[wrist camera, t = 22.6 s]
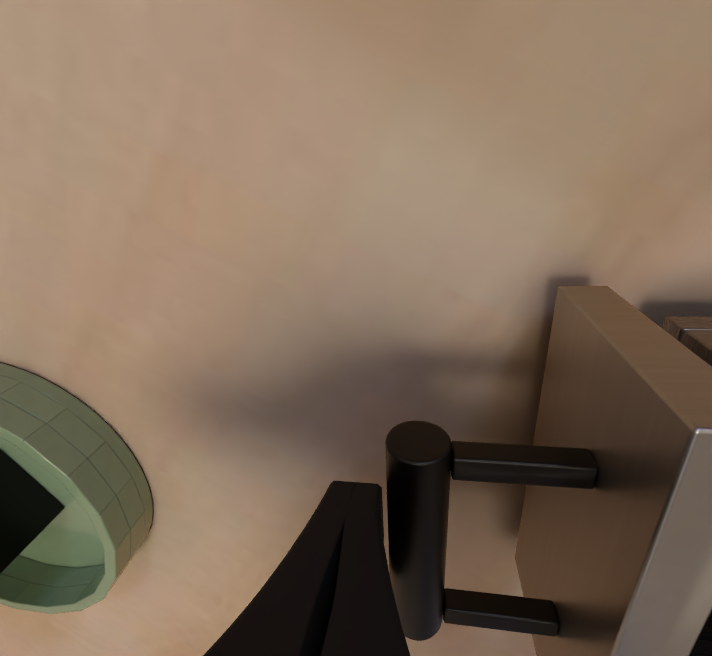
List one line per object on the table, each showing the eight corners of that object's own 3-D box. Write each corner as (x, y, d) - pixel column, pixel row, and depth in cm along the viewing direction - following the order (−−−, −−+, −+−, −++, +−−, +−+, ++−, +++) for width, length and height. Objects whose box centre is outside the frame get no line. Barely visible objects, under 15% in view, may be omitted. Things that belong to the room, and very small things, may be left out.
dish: (180, 573, 20) (149, 629, 18) (-22, 549, 22) (-74, 596, 19) (104, 361, 15) (48, 400, 13) (-149, 354, 17) (-238, 387, 15)
